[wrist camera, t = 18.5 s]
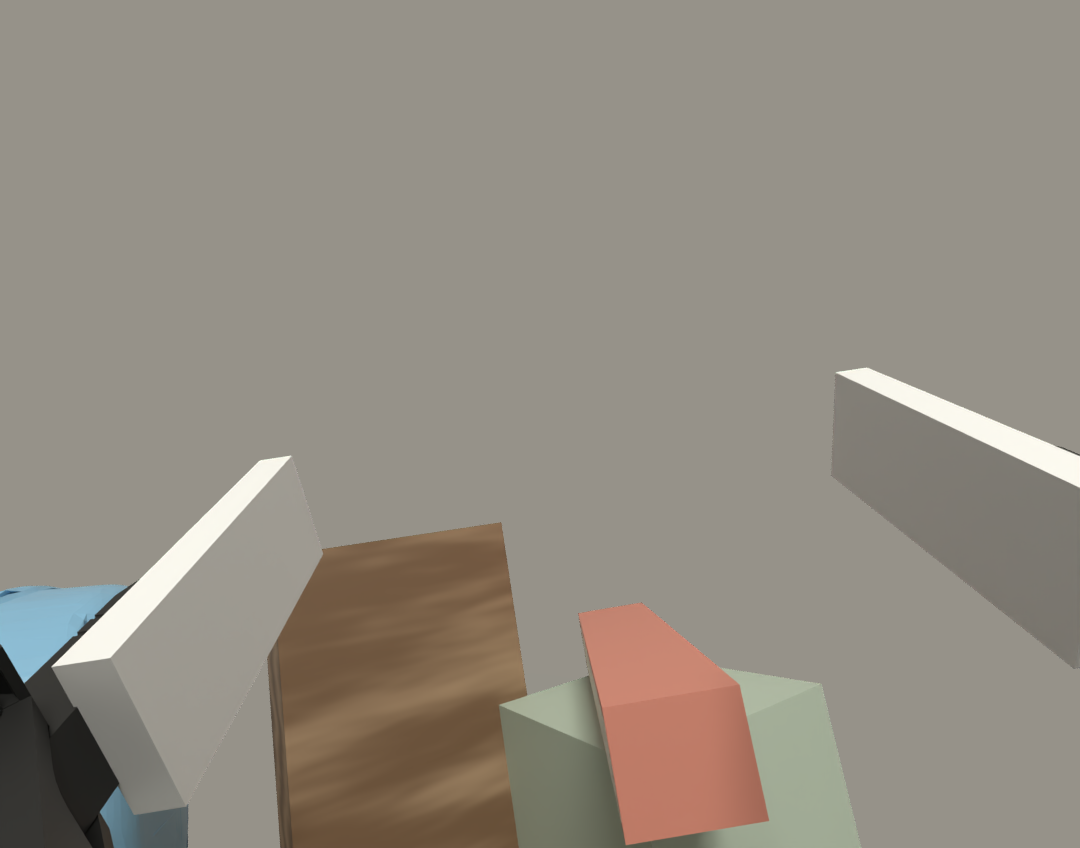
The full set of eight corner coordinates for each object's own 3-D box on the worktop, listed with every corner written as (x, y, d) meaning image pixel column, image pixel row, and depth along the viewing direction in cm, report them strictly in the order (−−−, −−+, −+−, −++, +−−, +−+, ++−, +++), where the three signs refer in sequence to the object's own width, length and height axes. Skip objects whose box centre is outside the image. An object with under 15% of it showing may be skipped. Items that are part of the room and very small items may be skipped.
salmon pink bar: (770, 821, 18) (740, 684, 18) (625, 845, 18) (601, 707, 18) (653, 662, 39) (641, 602, 40) (588, 673, 39) (577, 613, 40)
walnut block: (294, 1047, 36) (260, 564, 42) (496, 938, 43) (443, 536, 48) (320, 1230, 26) (271, 556, 31) (580, 1047, 33) (501, 522, 38)
